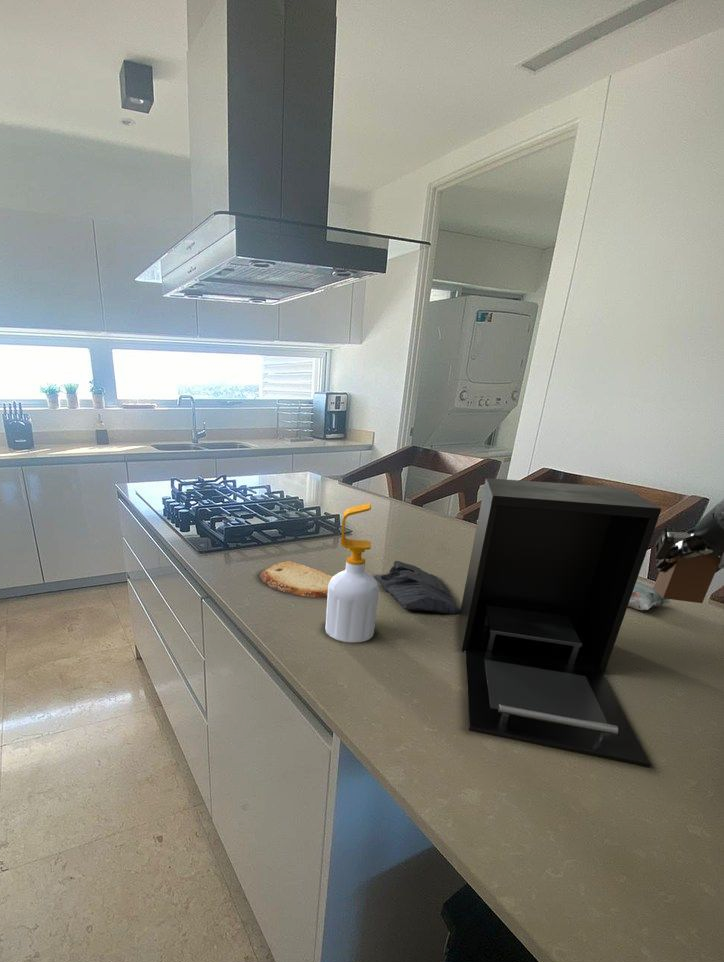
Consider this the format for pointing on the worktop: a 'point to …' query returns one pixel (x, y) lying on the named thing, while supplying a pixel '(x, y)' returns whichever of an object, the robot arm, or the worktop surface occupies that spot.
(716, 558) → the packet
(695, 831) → the worktop surface
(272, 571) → the slice of bread
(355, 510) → the soap bottle
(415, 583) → the dark grey crumpled cloth
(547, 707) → the oven
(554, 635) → the rack
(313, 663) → the worktop surface
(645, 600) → the packaged food
